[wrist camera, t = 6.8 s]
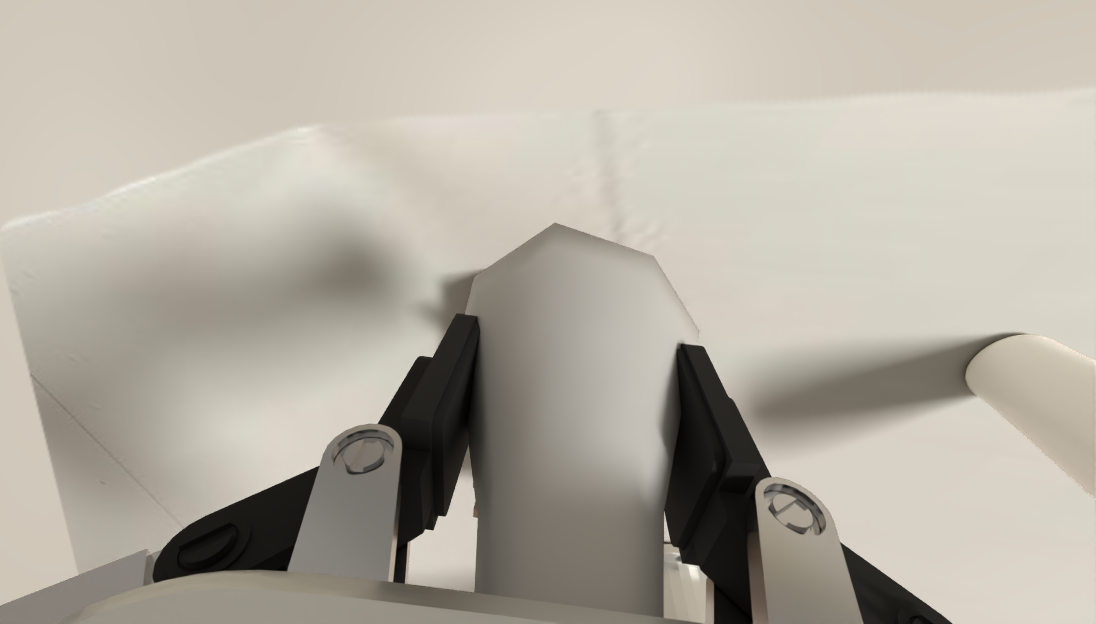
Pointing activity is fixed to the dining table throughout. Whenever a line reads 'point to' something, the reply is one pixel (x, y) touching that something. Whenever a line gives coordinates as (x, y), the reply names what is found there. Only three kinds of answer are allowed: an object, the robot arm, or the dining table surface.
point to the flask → (575, 422)
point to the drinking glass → (1043, 398)
